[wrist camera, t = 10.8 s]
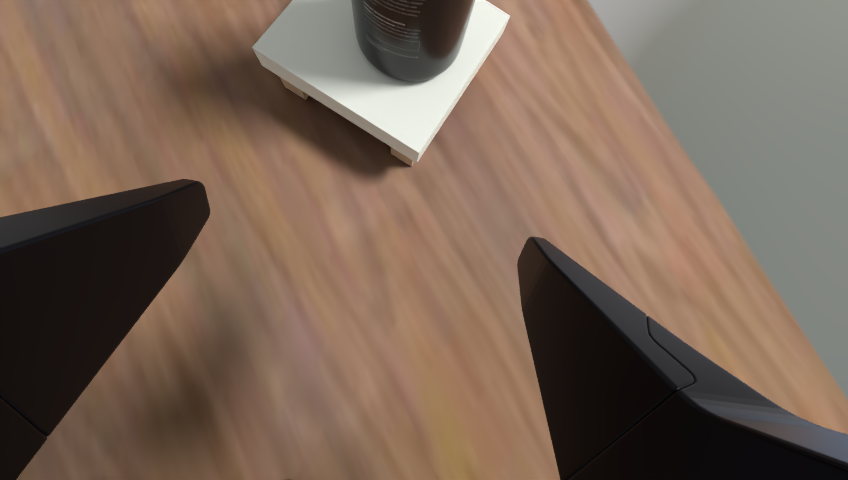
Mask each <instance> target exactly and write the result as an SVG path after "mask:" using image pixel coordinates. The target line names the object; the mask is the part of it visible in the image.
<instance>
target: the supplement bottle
mask: <svg viewBox="0 0 848 480" xmlns="http://www.w3.org/2000/svg"><path fill="white" fill-rule="evenodd" d="M351 2H352V10H353V19H354V26H355V33H356V37H357V41H358V44H359V47H360V49H361V51H362V53H363V54H364V56H365V57H366V59H367V60H368V61H369V62H370V63H371V64H372V65H373V66H374V67H375V68H376V69H378V70H379V71H380V72H382V73H383V74H385V75H387V76H389V77H392V78H395V79H398V80H402V81H411V82H415V81H424V80H428V79H431V78H434V77H436V76H438V75H440V74H441V73H443V72H444V71H446V70H447V69H448V68H449V67H450V66H451V65H452V63H453V62H454V61H455V59H456V57H457V56H458V53H459V51H460V48H461V45H462V42H463V39H464V36H465V33H466V29H467V26H468V23H469V20H470V16H471V13H472V10H473V6H474V3H475V0H351Z"/></svg>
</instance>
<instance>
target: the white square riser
mask: <svg viewBox="0 0 848 480" xmlns="http://www.w3.org/2000/svg"><path fill="white" fill-rule="evenodd" d="M509 18H510V16H509V15H508V14H506V13H505V12H503V11H501V10H500V9H498V8H497V7H495V6H494V5H492V4H491V3H489V2H488V1H486V0H475V3H474V6H473V10H472V13H471V16H470V20H469V23H468V26H467V29H466V33H465V36H464V39H463V42H462V45H461V48H460V51H459V53H458V56H457V57H456V59H455V61H454V62H453V63H452V65H451V66H450V67H449V68H448V69H447V70H446V71H444V72H443V73H441V74H440V75H438V76H436V77H434V78H431V79H428V80H424V81H415V82H411V81H402V80H398V79H395V78H392V77H389V76H387V75H385V74H383V73H382V72H380V71H379V70H378V69H376V68H375V67H374V66H373V65H372V64H371V63H370V62H369V61H368V60H367V59H366V57H365V56H364V54H363V53H362V51H361V49H360V47H359V44H358V41H357V37H356V33H355V26H354V19H353V10H352V2H351V0H292V2H291V3H290V4H289V5H288V6H287V7H286V8H285V10H284V11H283V12H282V13H281V14H280V15H279V17H278V18H277V19H276V20H275V21H274V22H273V24H272V25H271V26H270V27H269V28H268V29H267V31H266V32H265V33H264V34H263V35H262V36H261V38H260V39H259V40H258V41H257V42H256V43H255V45H254V46H253V47H252V49H253V50H254V52H255V54H256V56H257V57H258V59H259V61H260V63H261V65H262V66H263V67H265V68H267V69H268V70H270V71H271V72H273V73H275V74H276V75H278V76H279V77H280V79H281V81H282V83H283V85H284V87H286V88H287V89H289V90H291V91H292V92H294V93H295V94H297V95H298V96H300V97H302V98H303V99H305V100H306V99H307V97H308V96H311V97H313V98H314V99H316V100H317V101H319V102H321V103H322V104H324V105H325V106H327V107H328V108H330V109H332V110H333V111H335V112H336V113H338V114H340V115H341V116H343V117H344V118H346V119H348V120H349V121H351V122H352V123H354V124H355V125H357V126H359V127H360V128H362V129H363V130H365V131H367V132H368V133H370V134H371V135H373V136H374V137H376V138H378V139H379V140H381V141H382V142H384V143H386V144H387V145H389V146H390V147H391V154H392V155H394V156H395V157H397V158H398V159H400V160H402V161H403V162H405V163H406V164H408V165H410V166H411V167H412V165H413V164H414V162H416V163H417V162H418V160H419V159H420V157H421V156H422V154H423V153H424V151H425V150H426V148H427V147H428V145H429V144H430V142H431V141H432V139H433V138H434V136H435V135H436V133H437V132H438V130H439V129H440V127H441V126H442V124H443V123H444V121H445V120H446V118H447V117H448V115H449V114H450V112H451V111H452V109H453V108H454V106H455V105H456V103H457V102H458V100H459V99H460V97H461V95H462V94H463V92H464V91H465V89H466V88H467V86H468V85H469V83H470V82H471V80H472V79H473V77H474V76H475V74H476V73H477V71H478V70H479V68H480V67H481V65H482V64H483V62H484V61H485V59H486V58H487V56H488V55H489V53H490V52H491V50H492V49H493V47H494V46H495V44H496V43H497V41H498V40H499V38H500V37H501V35H502V33H503V31H504V29H505V27H506V24H507V22H508V20H509Z"/></svg>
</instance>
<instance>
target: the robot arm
mask: <svg viewBox="0 0 848 480" xmlns="http://www.w3.org/2000/svg"><path fill="white" fill-rule="evenodd" d="M209 215H210V207H209V203H208V199H207V194H206V190H205V187H204V185H203V184H202V183H201V182H199V181H194V180H188V179H181V180H176V181H171V182H166V183H162V184H157V185H152V186H147V187H143V188H138V189H133V190H128V191H124V192H119V193H114V194H109V195H105V196H100V197H95V198H90V199H86V200H81V201H76V202H71V203H67V204H62V205H57V206H52V207H47V208H43V209H38V210H33V211H28V212H24V213H19V214H14V215H9V216H5V217H0V480H16V479H17V478H18V476H19V475H20V474H21V472H22V471H23V470H24V468H25V467H26V466H27V464H28V463H29V462H30V461H31V459H32V458H33V457H34V455H35V454H36V453H37V451H38V450H39V449H40V448H41V446H42V445H43V444H44V442H45V441H46V440H47V437H46V436H49V435H50V434H51V433H52V431H53V430H54V429H55V428H56V426H57V425H58V424H59V422H60V421H61V420H62V418H63V417H64V416H65V414H66V413H67V412H68V411H69V409H70V408H71V407H72V405H73V404H74V403H75V401H76V400H77V399H78V397H79V396H80V395H81V394H82V392H83V391H84V390H85V388H86V387H87V386H88V384H89V383H90V382H91V381H92V379H93V378H94V377H95V375H96V374H97V373H98V371H99V370H100V369H101V367H102V366H103V365H104V364H105V362H106V361H107V360H108V358H109V357H110V356H111V354H112V353H113V352H114V351H115V349H116V348H117V347H118V345H119V344H120V343H121V341H122V340H123V339H124V337H125V336H126V335H127V334H128V332H129V331H130V330H131V328H132V327H133V326H134V324H135V323H136V322H137V321H138V319H139V318H140V317H141V315H142V314H143V313H144V311H145V310H146V309H147V307H148V306H149V305H150V304H151V302H152V301H153V300H154V298H155V297H156V296H157V294H158V293H159V292H160V290H161V289H162V288H163V287H164V285H165V284H166V283H167V281H168V280H169V279H170V277H171V276H172V275H173V274H174V272H175V271H176V270H177V268H178V267H179V265H180V264H181V263H182V261H183V260H184V258H185V257H186V255H187V253H188V252H189V250H190V248H191V247H192V245H193V243H194V242H195V240H196V238H197V237H198V235H199V233H200V232H201V230H202V228H203V226H204V225H205V223H206V221H207V220H208V218H209ZM517 266H518V276H519V286H520V296H521V305H522V312H523V317H524V321H525V326H526V330H527V334H528V339H529V343H530V348H531V352H532V356H533V361H534V365H535V370H536V374H537V378H538V383H539V387H540V392H541V396H542V400H543V405H544V409H545V414H546V418H547V423H548V427H549V431H550V436H551V440H552V445H553V449H554V453H555V458H556V462H557V467H558V471H559V475H560V480H848V434H844V433H841V432H837V431H834V430H831V429H827V428H824V427H822V426H819V425H816V424H814V423H811V422H809V421H807V420H805V419H802V418H800V417H798V416H796V415H794V414H792V413H790V412H788V411H787V410H785V409H783V408H781V407H780V406H778V405H777V404H775V403H773V402H772V401H770V400H769V399H767V398H766V397H764V396H763V395H761V394H760V393H758V392H757V391H755V390H754V389H752V388H751V387H750V386H748V385H747V384H745V383H744V382H742V381H741V380H739V379H738V378H736V377H735V376H733V375H732V374H730V373H729V372H727V371H726V370H724V369H723V368H721V367H720V366H718V365H717V364H715V363H714V362H712V361H711V360H709V359H708V358H707V357H705V356H704V355H702V354H701V353H699V352H698V351H696V350H695V349H693V348H692V347H691V346H689V345H688V344H686V343H685V342H683V341H682V340H681V339H679V338H678V337H676V336H675V335H674V334H672V333H671V332H670V331H668V330H667V329H665V328H664V327H663V326H661V325H660V324H659V323H657V322H656V321H655V320H653V319H652V318H651V317H649V316H647V317H646V314H645V313H644V312H642V311H641V310H640V309H638V308H637V307H636V306H634V305H633V304H632V303H630V302H629V301H628V300H626V299H625V298H623V297H622V296H621V295H619V294H618V293H617V292H615V291H614V290H613V289H611V288H610V287H609V286H607V285H606V284H605V283H603V282H602V281H601V280H599V279H598V278H597V277H595V276H594V275H593V274H591V273H590V272H589V271H587V270H586V269H585V268H583V267H582V266H580V265H579V264H578V263H576V262H575V261H574V260H572V259H571V258H570V257H568V256H567V255H566V254H564V253H563V252H562V251H560V250H559V249H558V248H556V247H555V246H554V245H552V244H551V243H550V242H548V241H547V240H546V239H544V238H539V237H529V238H528V239H527V241H526V243H525V245H524V247H523V250H522V252H521V254H520V256H519V259H518V264H517Z"/></svg>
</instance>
